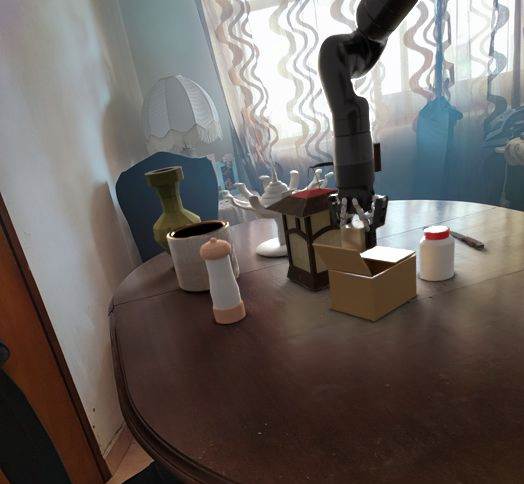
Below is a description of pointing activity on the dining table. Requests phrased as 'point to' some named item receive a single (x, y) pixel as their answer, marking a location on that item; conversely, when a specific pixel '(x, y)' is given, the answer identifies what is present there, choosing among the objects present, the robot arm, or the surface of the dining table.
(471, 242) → the knife
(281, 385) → the dining table surface
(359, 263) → the flap
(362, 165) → the robot arm
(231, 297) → the pepper shaker
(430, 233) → the pill bottle
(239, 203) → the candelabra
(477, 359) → the dining table surface
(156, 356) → the dining table surface
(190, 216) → the vase
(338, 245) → the lantern
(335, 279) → the carton
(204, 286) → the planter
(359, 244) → the block
